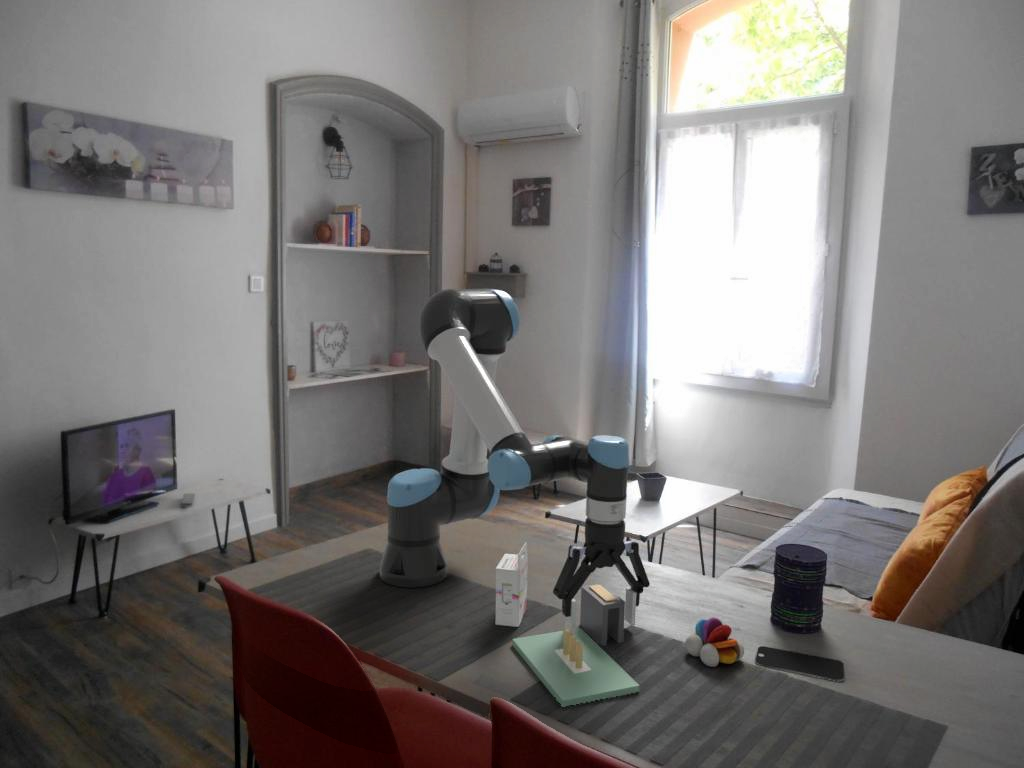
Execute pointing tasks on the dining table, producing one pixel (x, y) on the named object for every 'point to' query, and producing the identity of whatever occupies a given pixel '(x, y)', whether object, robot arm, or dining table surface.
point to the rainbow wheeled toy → (714, 643)
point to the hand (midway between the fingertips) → (600, 626)
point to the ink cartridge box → (511, 588)
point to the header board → (574, 667)
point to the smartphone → (800, 663)
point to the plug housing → (602, 613)
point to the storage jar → (798, 588)
